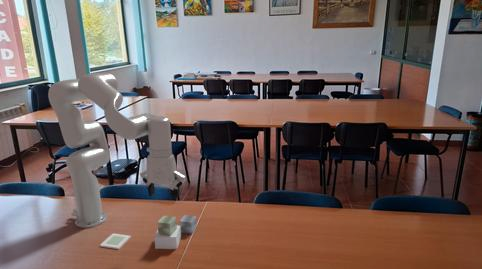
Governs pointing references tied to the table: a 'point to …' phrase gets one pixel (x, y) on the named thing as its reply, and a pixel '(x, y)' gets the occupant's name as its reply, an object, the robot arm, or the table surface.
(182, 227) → the slate block
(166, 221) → the sage block
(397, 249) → the table surface
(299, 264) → the table surface
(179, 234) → the grey base block
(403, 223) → the table surface
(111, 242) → the card
